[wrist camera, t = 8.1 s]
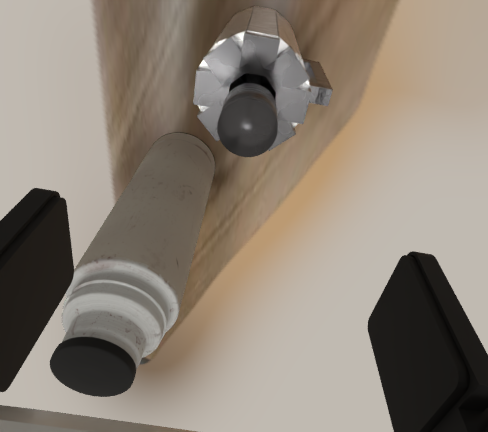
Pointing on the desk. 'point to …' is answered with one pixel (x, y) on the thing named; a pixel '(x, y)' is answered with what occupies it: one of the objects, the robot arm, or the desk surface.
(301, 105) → the press pot
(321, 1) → the desk surface
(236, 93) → the plunger
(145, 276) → the thermos bottle
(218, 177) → the desk surface
